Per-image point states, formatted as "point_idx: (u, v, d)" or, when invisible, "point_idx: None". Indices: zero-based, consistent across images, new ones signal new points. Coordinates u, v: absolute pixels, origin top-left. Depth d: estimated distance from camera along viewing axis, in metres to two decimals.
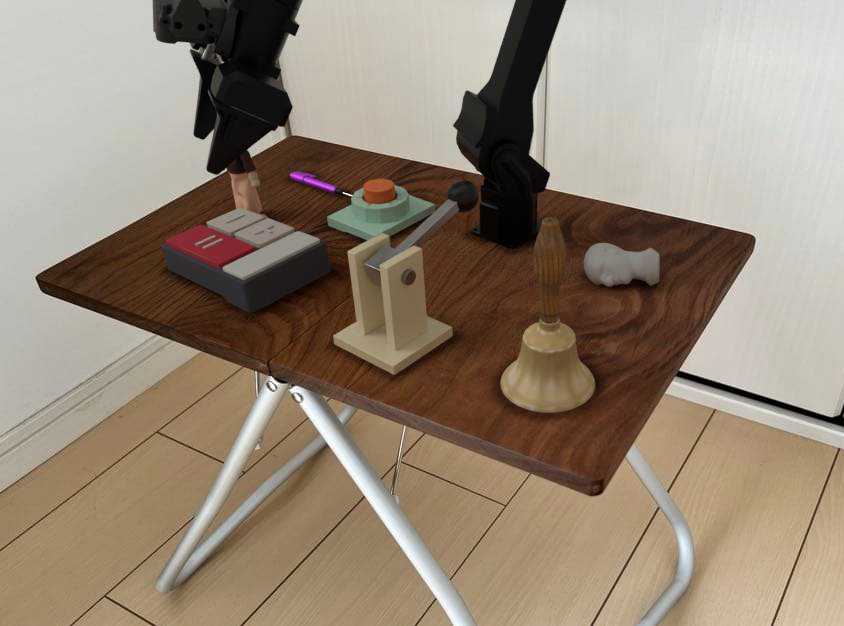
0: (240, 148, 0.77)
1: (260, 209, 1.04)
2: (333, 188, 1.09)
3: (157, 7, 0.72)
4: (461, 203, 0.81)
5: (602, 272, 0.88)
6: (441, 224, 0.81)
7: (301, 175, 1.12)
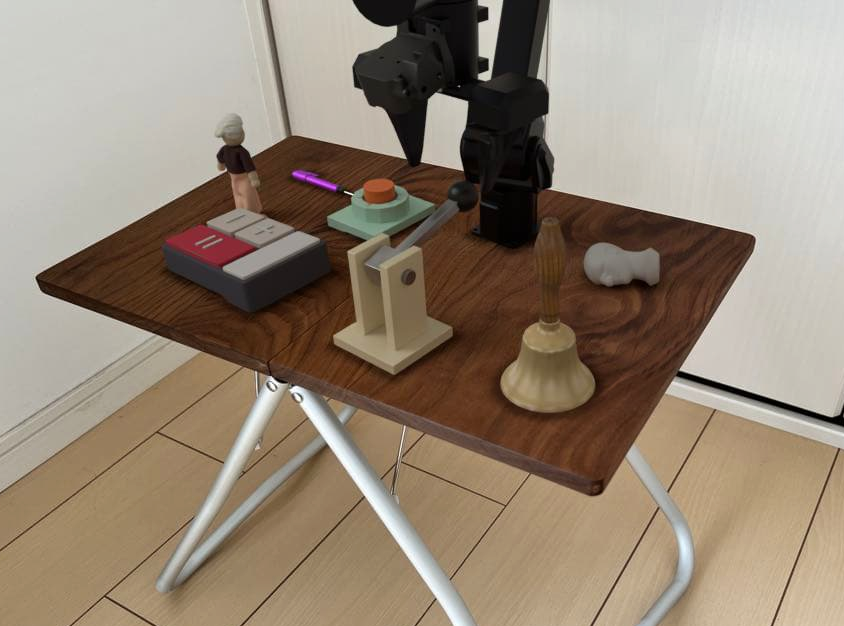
0: (505, 154, 0.76)
1: (260, 209, 1.04)
2: (335, 187, 1.09)
3: (388, 85, 0.68)
4: (461, 203, 0.81)
5: (602, 272, 0.88)
6: (441, 224, 0.81)
7: (303, 174, 1.12)
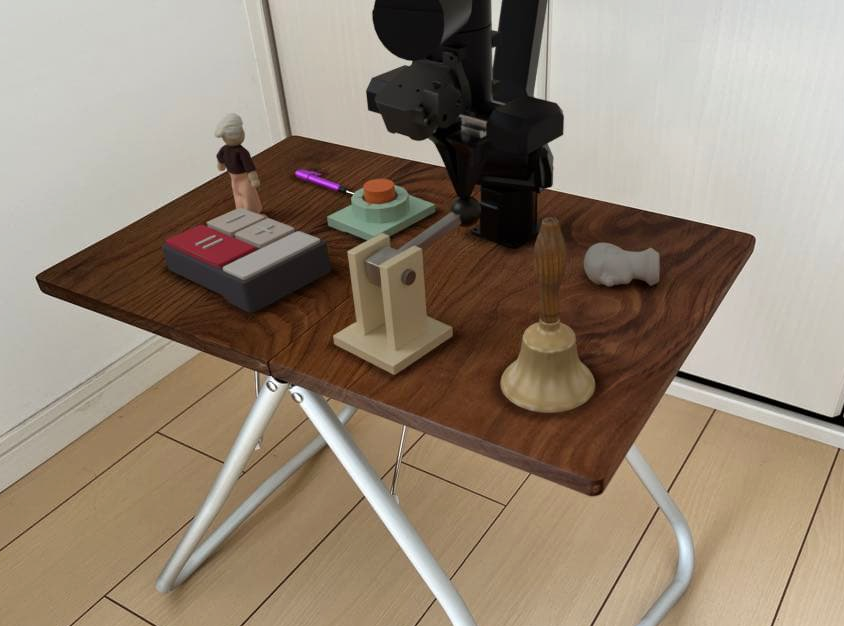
0: (482, 162, 0.80)
1: (260, 209, 1.04)
2: (337, 186, 1.09)
3: (409, 114, 0.70)
4: (464, 216, 0.82)
5: (602, 272, 0.88)
6: (443, 234, 0.81)
7: (306, 173, 1.12)
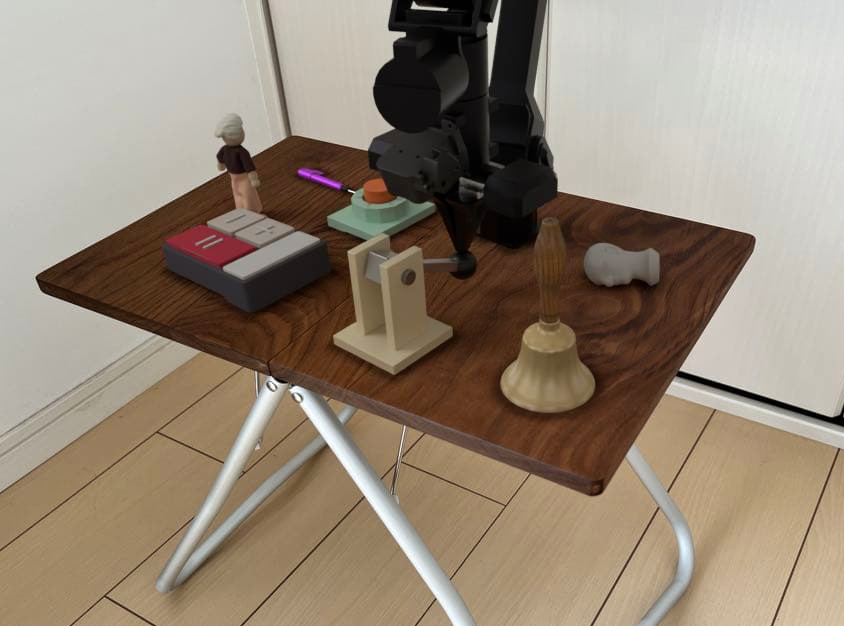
0: (480, 218, 0.83)
1: (260, 209, 1.04)
2: (339, 185, 1.09)
3: (409, 180, 0.73)
4: (462, 264, 0.85)
5: (602, 272, 0.88)
6: (440, 269, 0.83)
7: (308, 172, 1.12)
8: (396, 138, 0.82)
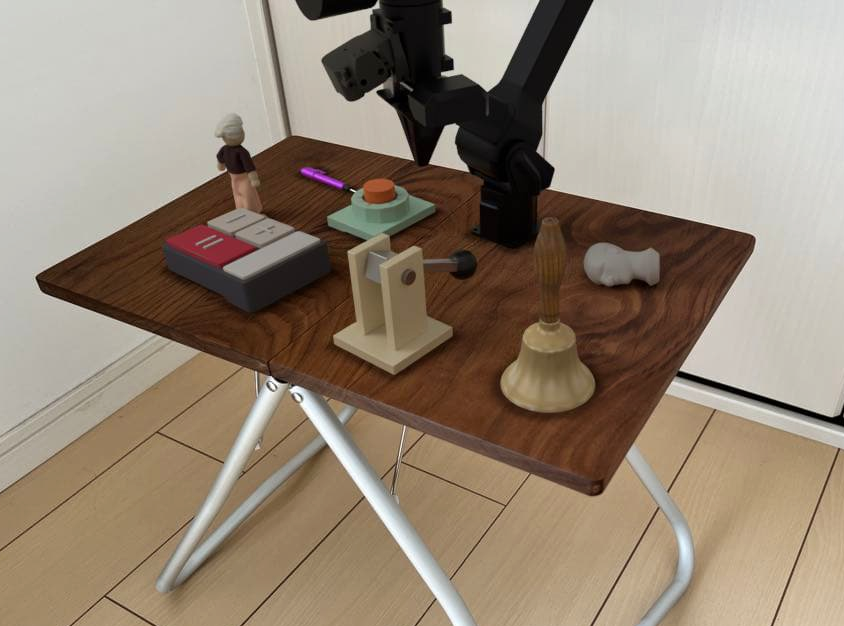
0: (436, 134, 0.85)
1: (260, 209, 1.04)
2: (341, 185, 1.10)
3: (337, 75, 0.77)
4: (462, 265, 0.85)
5: (602, 272, 0.88)
6: (440, 269, 0.83)
7: (311, 171, 1.13)
8: None
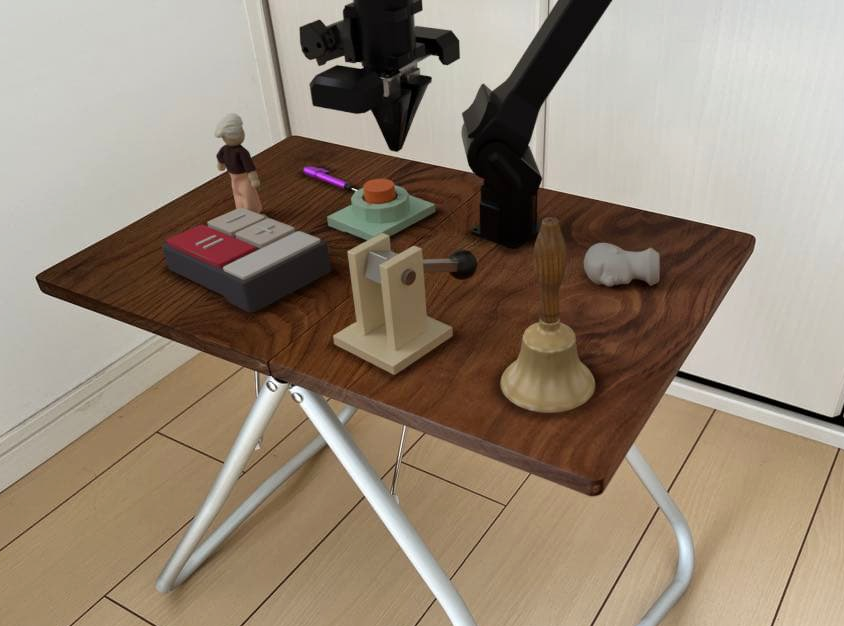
0: (395, 125, 0.89)
1: (260, 209, 1.04)
2: (343, 184, 1.10)
3: None
4: (462, 265, 0.85)
5: (602, 272, 0.88)
6: (440, 269, 0.83)
7: (314, 170, 1.13)
8: (416, 31, 0.91)
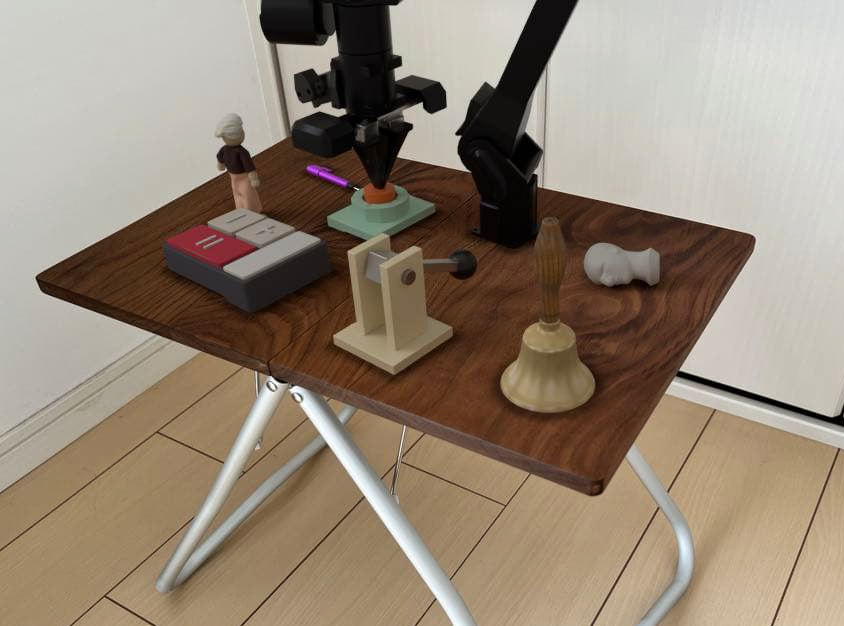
0: (375, 166, 0.97)
1: (260, 209, 1.04)
2: (345, 183, 1.10)
3: None
4: (462, 265, 0.85)
5: (602, 272, 0.88)
6: (440, 269, 0.83)
7: (317, 169, 1.13)
8: (407, 81, 0.99)
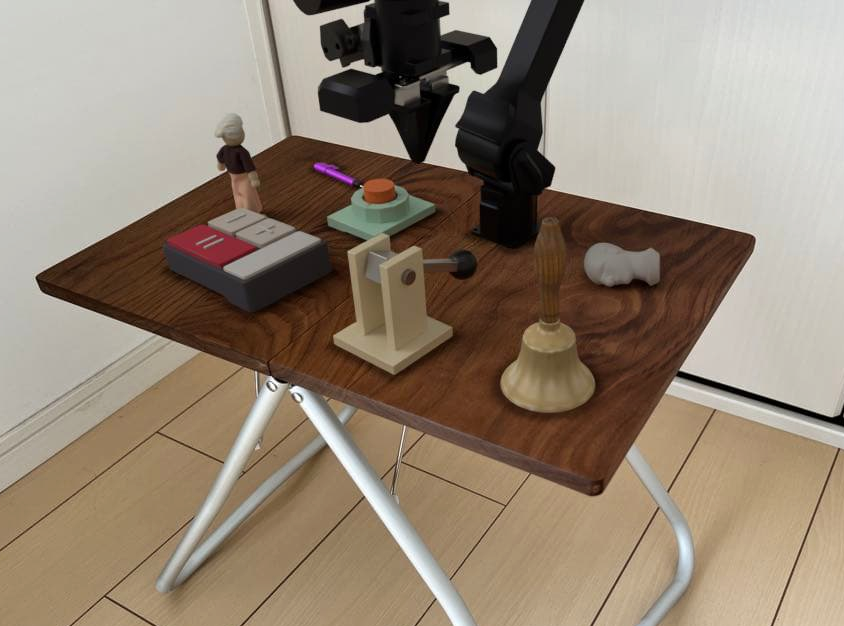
0: (414, 135, 0.83)
1: (260, 209, 1.04)
2: (351, 181, 1.10)
3: None
4: (462, 265, 0.85)
5: (602, 272, 0.88)
6: (440, 269, 0.83)
7: (324, 166, 1.14)
8: (451, 36, 0.84)
